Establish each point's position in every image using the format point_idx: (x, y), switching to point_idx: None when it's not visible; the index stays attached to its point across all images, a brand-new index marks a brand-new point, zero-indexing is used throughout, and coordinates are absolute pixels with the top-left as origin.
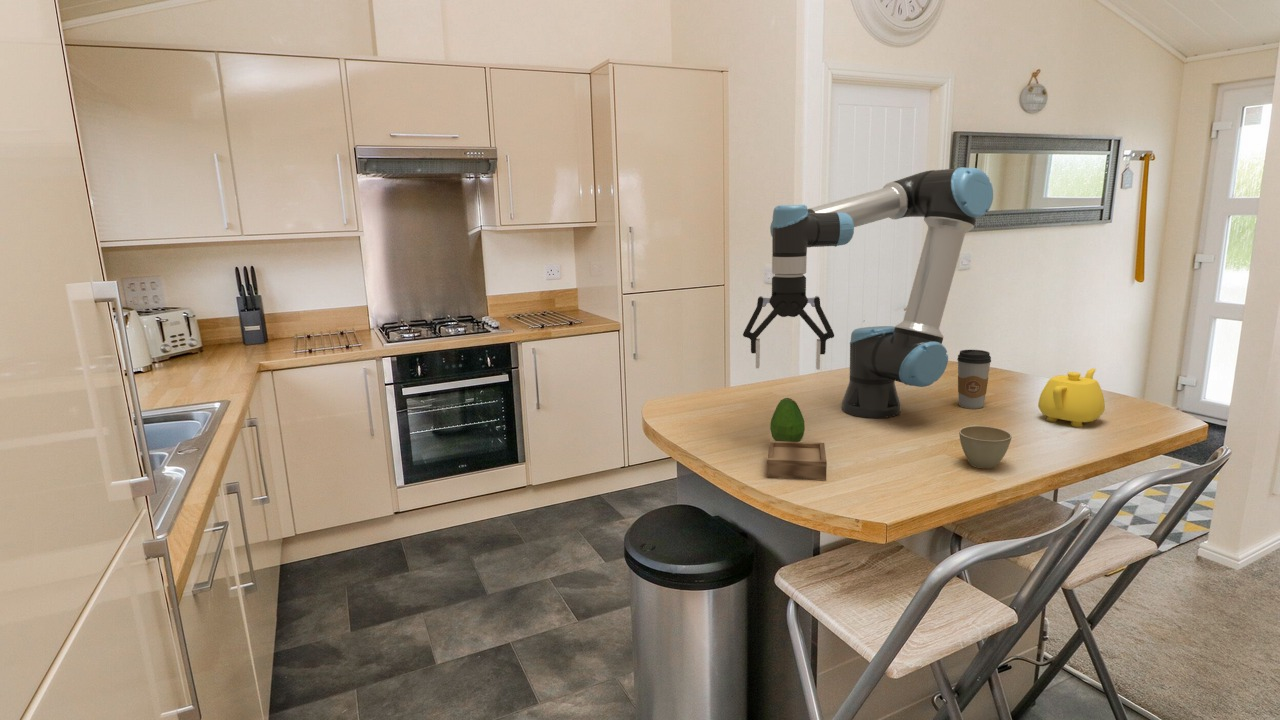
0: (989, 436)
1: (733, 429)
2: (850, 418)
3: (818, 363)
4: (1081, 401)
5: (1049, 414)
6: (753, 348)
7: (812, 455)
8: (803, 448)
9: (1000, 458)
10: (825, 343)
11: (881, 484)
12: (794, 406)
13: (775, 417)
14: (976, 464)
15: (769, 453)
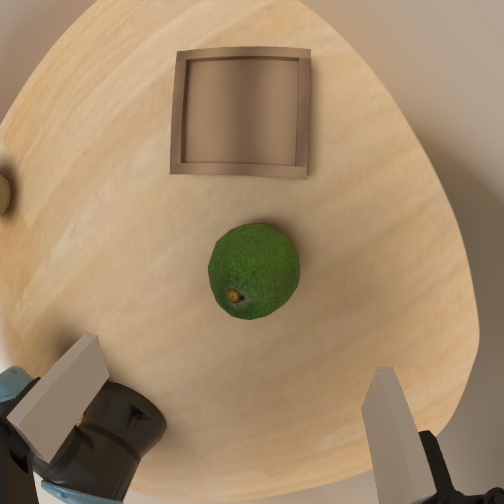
0: None
1: (362, 348)
2: (148, 390)
3: (75, 349)
4: None
5: None
6: (428, 453)
7: (203, 112)
8: (221, 158)
9: None
10: (6, 408)
11: (106, 72)
12: (225, 266)
13: (288, 260)
14: (5, 178)
15: (306, 86)
